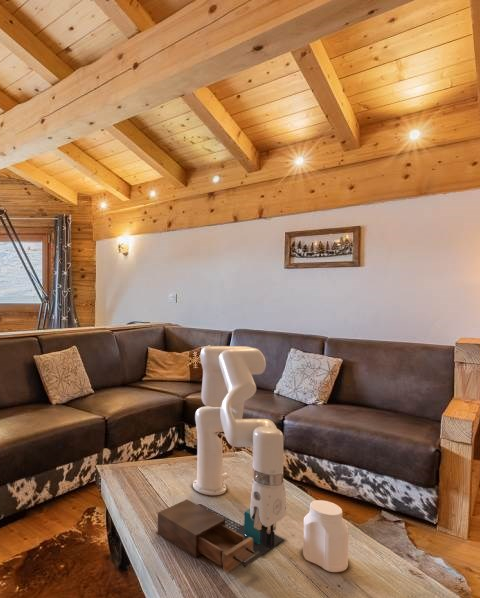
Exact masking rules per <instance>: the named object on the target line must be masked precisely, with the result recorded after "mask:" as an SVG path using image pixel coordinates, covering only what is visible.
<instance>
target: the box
mask: <svg viewBox="0 0 480 598" xmlns="http://www.w3.org/2000/svg"><path fill="white" fill-rule="evenodd" d="M243 515H244V520H243V526H244V534H246V535H247V536H245V535H244V537H246V538H249V537H251V538H253V542H255V543H257V544H260V530H257V529H255V528H254V521H253V520H252V519H251V514H250V508H248V509H246V510H245V511H244V514H243Z"/></svg>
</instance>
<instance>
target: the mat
mask: <svg viewBox="0 0 480 598" xmlns="http://www.w3.org/2000/svg"><path fill="white" fill-rule="evenodd" d="M235 531H236V532H238V533H240V534H241V535H243V536H244V525H242V526H241V527H239V528H237V529H236V530H235ZM245 539H247V538H246V537H244V540H245ZM284 541H285V539H284V538H282V537H281V536H278V535H277V534H275V533H274V547H272V548H271V549H269V548H267V547H265V546H264V545H262V544H257V543H255V542H253V551H255V552H257V551H259V552H260V553H261V557H262V556H264V555H265V554H267V553H268V552H269V551H271V550H272V549H274V548H275V547H277V546H278V545H280V544H281V543H283V542H284Z"/></svg>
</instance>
